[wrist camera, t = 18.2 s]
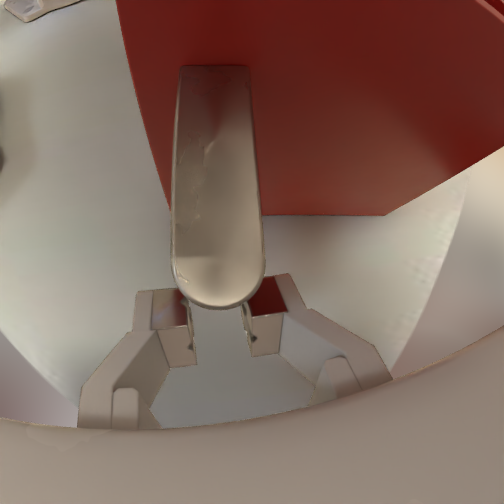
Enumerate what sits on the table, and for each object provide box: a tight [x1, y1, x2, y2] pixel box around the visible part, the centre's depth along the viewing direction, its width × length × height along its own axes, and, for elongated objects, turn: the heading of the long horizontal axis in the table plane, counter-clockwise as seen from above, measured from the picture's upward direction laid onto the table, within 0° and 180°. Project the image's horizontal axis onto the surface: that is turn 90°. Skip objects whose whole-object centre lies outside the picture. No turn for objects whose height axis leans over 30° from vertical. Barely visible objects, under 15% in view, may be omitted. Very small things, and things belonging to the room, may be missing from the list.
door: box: [116, 0, 504, 310], centre depth 10 cm, size 6×14×16 cm, turn 94°
